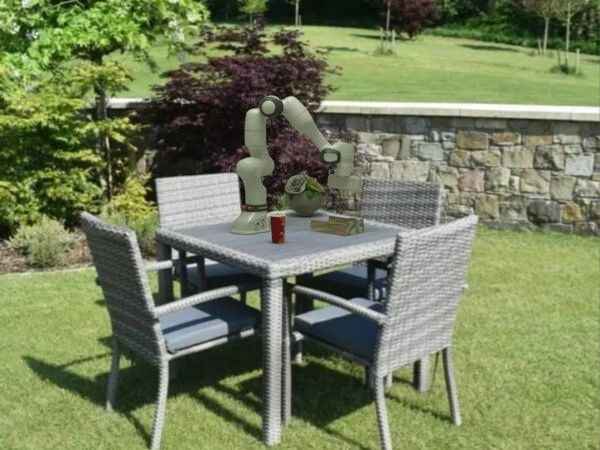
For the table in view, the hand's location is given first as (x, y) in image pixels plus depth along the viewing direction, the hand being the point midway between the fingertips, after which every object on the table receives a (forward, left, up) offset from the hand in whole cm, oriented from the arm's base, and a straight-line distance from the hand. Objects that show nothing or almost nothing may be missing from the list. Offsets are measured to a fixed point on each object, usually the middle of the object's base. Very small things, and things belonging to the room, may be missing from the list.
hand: (344, 197), depth 399 cm
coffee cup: (-44, +7, -18) cm, 48 cm away
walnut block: (-1, -6, -15) cm, 16 cm away
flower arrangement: (+23, +46, -18) cm, 54 cm away
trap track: (-3, +2, -18) cm, 18 cm away
